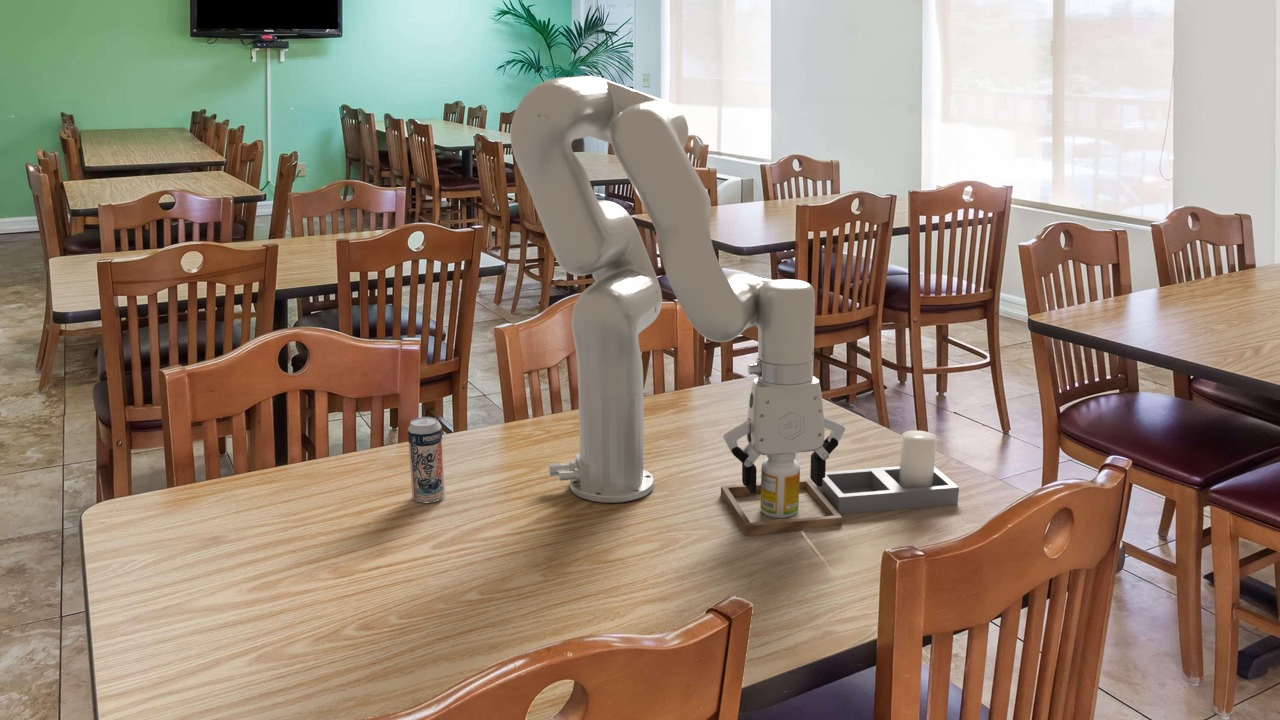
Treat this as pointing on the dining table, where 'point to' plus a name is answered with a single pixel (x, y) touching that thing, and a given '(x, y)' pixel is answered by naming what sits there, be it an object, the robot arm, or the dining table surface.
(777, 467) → the supplement bottle
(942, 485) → the caddy
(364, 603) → the dining table surface
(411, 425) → the beer can
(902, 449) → the white pillar candle
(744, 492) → the tray
